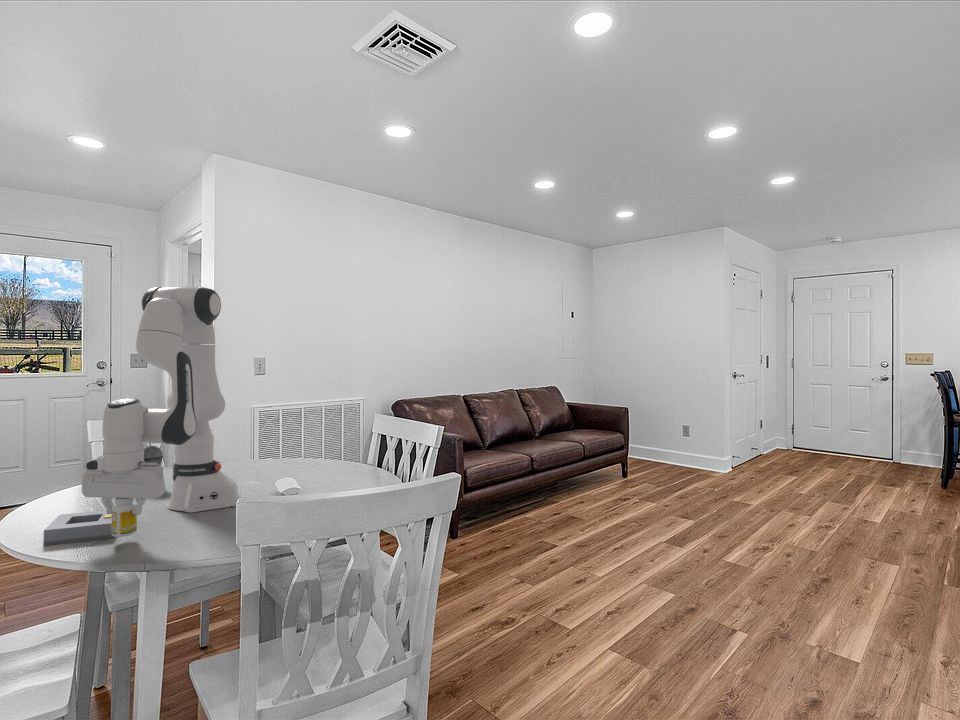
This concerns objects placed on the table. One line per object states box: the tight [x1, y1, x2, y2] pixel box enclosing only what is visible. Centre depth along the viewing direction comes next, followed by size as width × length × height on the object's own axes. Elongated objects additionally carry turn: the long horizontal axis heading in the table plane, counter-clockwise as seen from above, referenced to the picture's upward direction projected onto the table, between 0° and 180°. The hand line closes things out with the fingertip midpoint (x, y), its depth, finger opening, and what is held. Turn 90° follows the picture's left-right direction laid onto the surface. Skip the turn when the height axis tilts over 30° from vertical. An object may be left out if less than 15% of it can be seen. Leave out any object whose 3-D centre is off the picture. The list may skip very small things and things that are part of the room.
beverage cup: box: [144, 443, 164, 466], centre depth 184 cm, size 7×7×20 cm
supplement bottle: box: [112, 498, 138, 538], centre depth 132 cm, size 5×5×10 cm
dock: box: [43, 509, 113, 547], centre depth 138 cm, size 14×14×4 cm
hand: (124, 513), depth 132 cm, fingers closed on supplement bottle, 5 cm apart
